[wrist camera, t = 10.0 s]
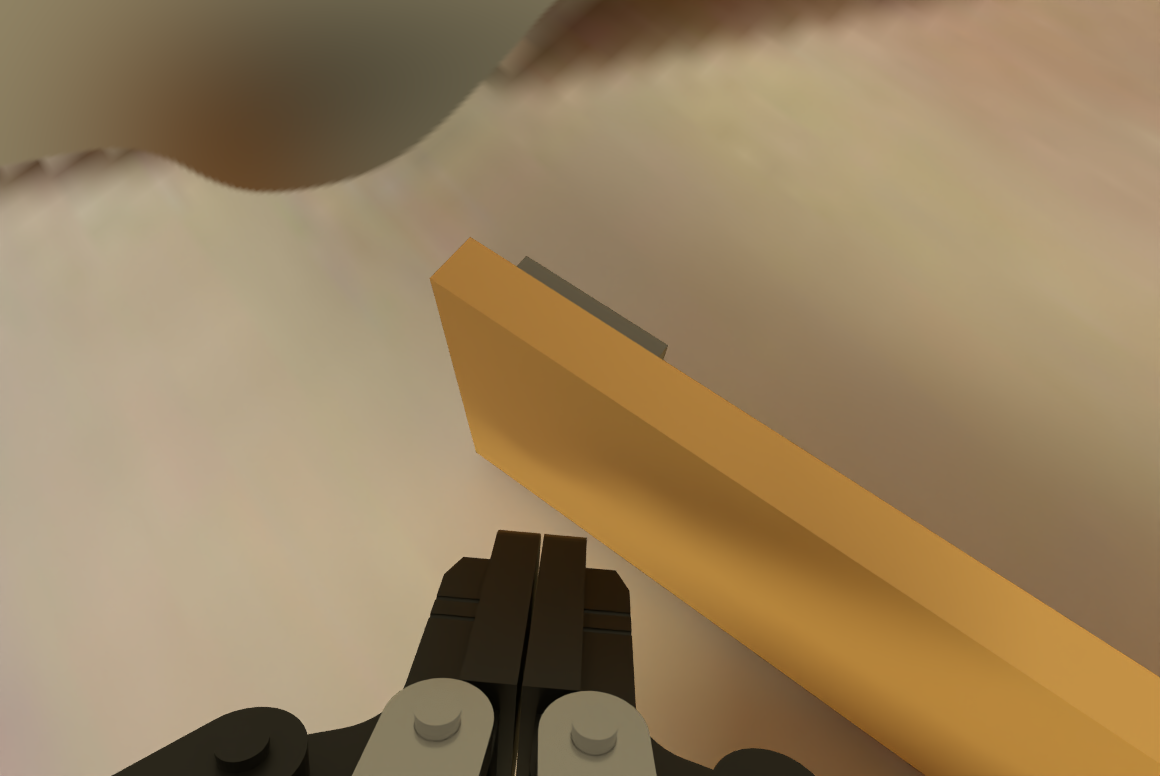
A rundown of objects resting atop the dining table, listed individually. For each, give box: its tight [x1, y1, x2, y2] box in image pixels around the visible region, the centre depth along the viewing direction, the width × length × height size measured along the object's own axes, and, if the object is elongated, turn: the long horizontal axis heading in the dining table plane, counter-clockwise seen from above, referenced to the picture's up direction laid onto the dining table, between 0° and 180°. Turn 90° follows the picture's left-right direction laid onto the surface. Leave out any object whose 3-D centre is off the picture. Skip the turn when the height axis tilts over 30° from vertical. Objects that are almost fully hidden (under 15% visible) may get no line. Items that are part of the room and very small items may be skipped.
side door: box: [430, 237, 1160, 776], centre depth 13 cm, size 26×2×8 cm, turn 54°
